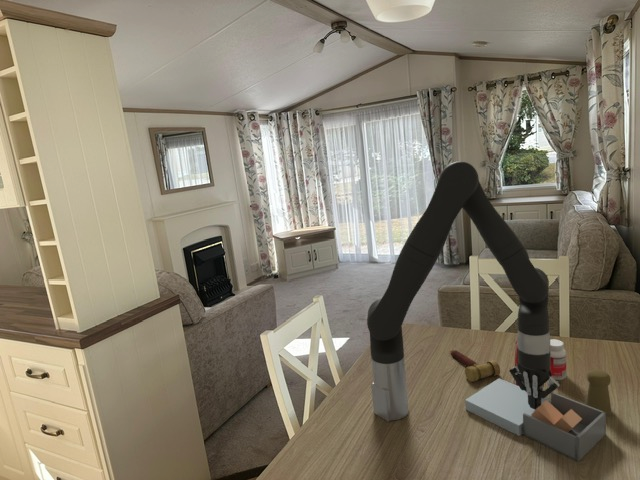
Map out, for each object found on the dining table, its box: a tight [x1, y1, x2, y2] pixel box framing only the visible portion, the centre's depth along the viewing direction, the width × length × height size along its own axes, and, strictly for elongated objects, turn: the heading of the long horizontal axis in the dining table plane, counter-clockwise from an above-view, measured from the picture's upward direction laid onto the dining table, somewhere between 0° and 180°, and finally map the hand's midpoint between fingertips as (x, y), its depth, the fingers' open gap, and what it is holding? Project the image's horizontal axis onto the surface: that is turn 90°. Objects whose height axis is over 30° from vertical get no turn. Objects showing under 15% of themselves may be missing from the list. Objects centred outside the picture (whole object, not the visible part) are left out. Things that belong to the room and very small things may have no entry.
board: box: [464, 377, 551, 437], centre depth 119 cm, size 16×16×3 cm
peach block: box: [554, 409, 582, 432], centre depth 106 cm, size 5×5×3 cm
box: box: [522, 391, 607, 463], centre depth 107 cm, size 14×13×6 cm
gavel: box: [449, 349, 501, 383], centre depth 145 cm, size 21×5×10 cm
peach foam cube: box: [531, 400, 564, 426], centre depth 110 cm, size 5×5×3 cm
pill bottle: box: [550, 338, 567, 381], centre depth 132 cm, size 6×6×11 cm
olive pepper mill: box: [584, 368, 613, 417], centre depth 114 cm, size 6×6×11 cm
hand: (534, 407), depth 113 cm, fingers closed
